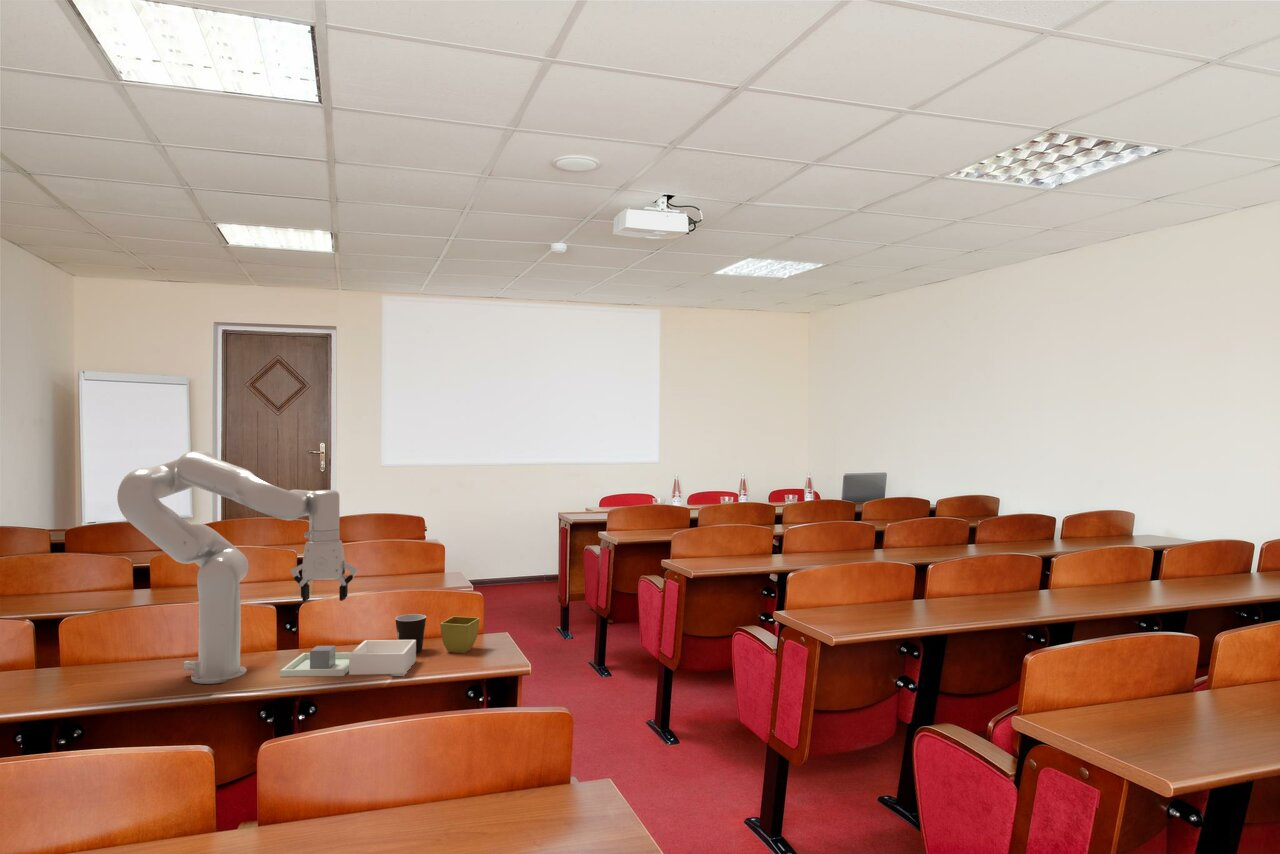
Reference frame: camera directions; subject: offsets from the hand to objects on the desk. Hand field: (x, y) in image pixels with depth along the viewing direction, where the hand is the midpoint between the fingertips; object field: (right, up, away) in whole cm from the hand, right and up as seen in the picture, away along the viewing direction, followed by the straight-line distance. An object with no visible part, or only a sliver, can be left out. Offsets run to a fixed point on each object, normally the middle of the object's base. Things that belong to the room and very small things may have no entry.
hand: (324, 600), depth 207 cm
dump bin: (+16, -19, +1) cm, 24 cm away
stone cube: (0, -18, 0) cm, 18 cm away
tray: (0, -19, 0) cm, 19 cm away
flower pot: (+32, -19, +19) cm, 42 cm away
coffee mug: (+18, -19, +19) cm, 33 cm away
